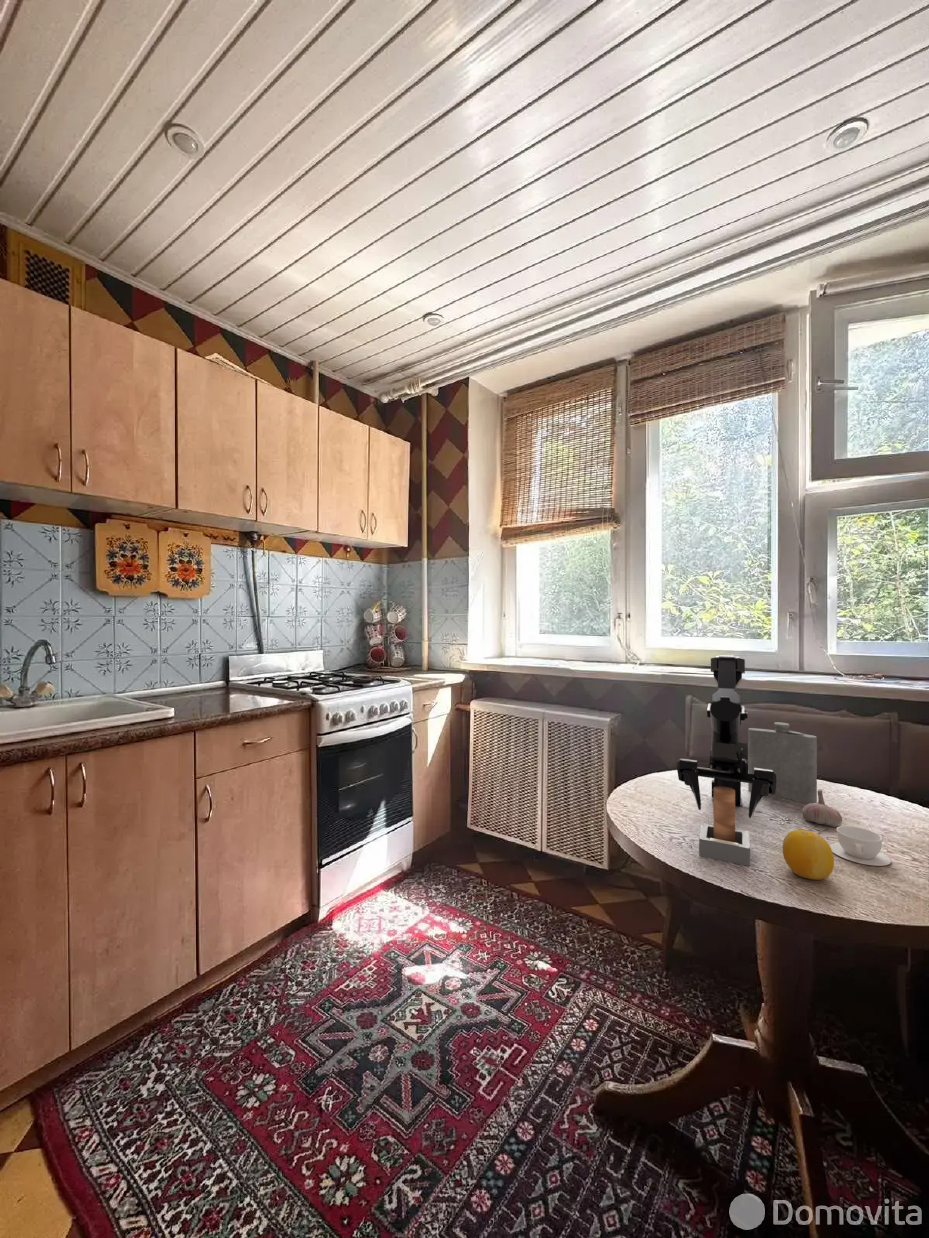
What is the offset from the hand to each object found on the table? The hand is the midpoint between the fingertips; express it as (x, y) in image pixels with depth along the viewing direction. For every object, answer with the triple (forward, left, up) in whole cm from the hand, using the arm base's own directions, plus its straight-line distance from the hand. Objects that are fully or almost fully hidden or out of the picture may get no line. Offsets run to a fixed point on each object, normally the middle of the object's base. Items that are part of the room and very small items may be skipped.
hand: (724, 812), depth 102 cm
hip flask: (-13, -46, -9) cm, 49 cm away
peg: (0, -1, -9) cm, 9 cm away
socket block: (0, -1, -9) cm, 9 cm away
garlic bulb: (-20, -29, -9) cm, 37 cm away
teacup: (-24, -13, -9) cm, 29 cm away
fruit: (-14, +2, -9) cm, 17 cm away
